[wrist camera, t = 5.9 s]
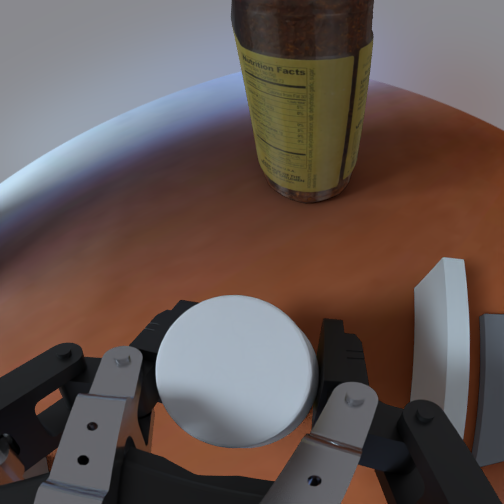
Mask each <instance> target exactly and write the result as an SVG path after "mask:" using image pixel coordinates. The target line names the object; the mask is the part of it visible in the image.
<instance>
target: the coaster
mask: <svg viewBox="0 0 504 504" xmlns="http://www.w3.org/2000/svg"><path fill="white" fill-rule="evenodd" d="M479 320H480V384H479V400H478V411H477V420H476V428H475V436H474V442H473V449H472V455H473V457H474V458H475V460H476V461H477V463H478V464H479V466H480V467H482V466H486V465H490V464H494V463H498V462H502V461H504V314H483V315H482V316H480V317H479Z"/></svg>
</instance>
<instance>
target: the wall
mask: <svg viewBox="0 0 504 504" xmlns="http://www.w3.org/2000/svg"><path fill="white" fill-rule="evenodd" d="M414 303H415V329H414V359H413V375H412V388H411V398H410V402H411V401H414V400H420V399H422V400H428V401H431V402H434V403H436V404H437V405H438V406H440V407H441V408H442V410H443V411H444V413H445V414H446V415H447V417H448V418H449V420H450V421H451V423H452V424H453V426H454V427H455V429H456V430H457V432H458V433H459V435H460V436H461V438H462V439H463V436H464V429H465V421H466V412H467V402H468V388H469V366H470V330H469V308H468V294H467V283H466V274H465V265H464V260H463V259H455V258H446V257H443V258H442V259H441V260H440V261H439V262H438V263H437V264H436V266H435V267H434V268H433V269H432V270H431V271H430V272H429V273H428V274H427V275H426V276H425V277H424V278H423V280H422V281H421V282H420V283H419V284H418V285H417V286H416V287H415V288H414Z"/></svg>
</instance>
